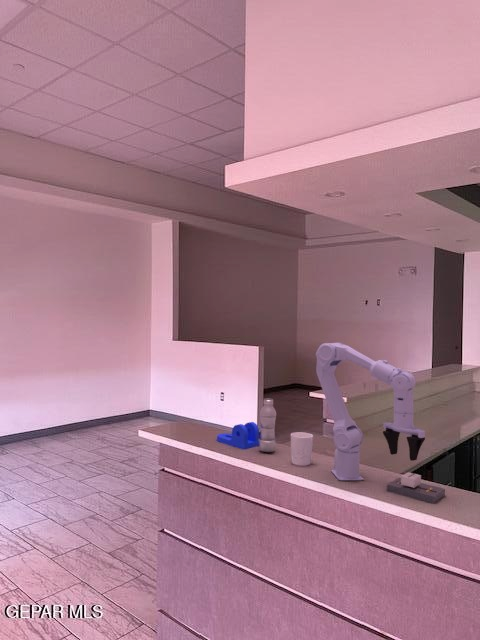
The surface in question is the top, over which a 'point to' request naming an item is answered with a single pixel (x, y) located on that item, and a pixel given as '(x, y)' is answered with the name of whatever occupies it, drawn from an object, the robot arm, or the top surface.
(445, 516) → the top surface
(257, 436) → the bracket
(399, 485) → the strip
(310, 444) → the white cup
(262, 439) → the plastic bottle
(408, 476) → the fader knob
